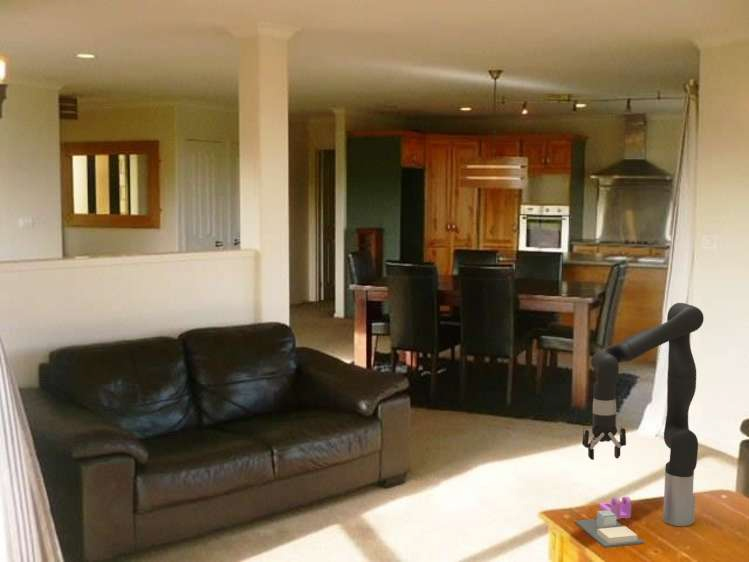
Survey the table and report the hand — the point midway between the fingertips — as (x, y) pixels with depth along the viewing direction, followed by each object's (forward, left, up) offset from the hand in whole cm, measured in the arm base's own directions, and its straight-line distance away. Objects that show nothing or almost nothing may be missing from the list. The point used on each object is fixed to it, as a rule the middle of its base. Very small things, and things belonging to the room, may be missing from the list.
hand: (604, 458), depth 288 cm
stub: (+1, +5, -23) cm, 24 cm away
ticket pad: (+1, +6, -23) cm, 24 cm away
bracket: (-10, -10, -24) cm, 27 cm away
